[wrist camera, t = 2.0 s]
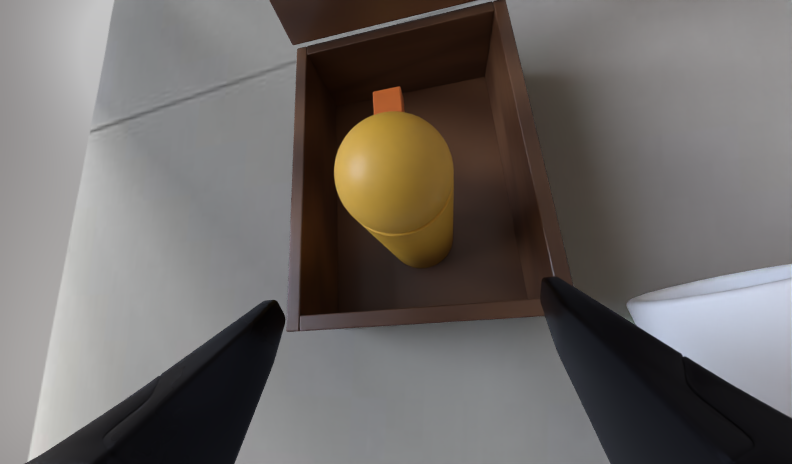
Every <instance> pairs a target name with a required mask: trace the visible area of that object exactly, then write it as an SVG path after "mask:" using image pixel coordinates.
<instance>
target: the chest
mask: <svg viewBox="0 0 792 464" xmlns="http://www.w3.org/2000/svg"><path fill="white" fill-rule="evenodd" d="M399 86H400V87H401V91H402V95H403V100H404V111H405V113H409V114H413V115H415V116H418V117H420V118H422V119H424V120H425V121H427V122H428V123H429V124H431V125H432V126H433V127H434V128H435V129H436V130H437V131H438V132H439V133H440V134H441V136H442V137H443V138H444V140H445V142H446V143H447V145H448V148H449V150H450V153H451V156H452V161H453V168H454V177H453V178H454V200H453V243H452V247H451V249H450V251H449V253H448V255H447V256H446V257H445V258H444V259H443V260H442V261H441V262H440V263H438V264H436V265H434V266H432V267H428V268H414V267H410V266H408V265H406V264H404V263H403V262H401V261H400V260H399V259H398V258H397V257H396V256H395V255H394V254H393V253H392V252H391V251H389V250H388V249H387V248H386V247H385V246H384V245H383V244H382V243H381V242H380V241H379V240H377V239H376V238H375V237H374V236H373V235H372V234H371V233H370V232H369V231H368V230H367V229H366V228H364V227H363V226H362V225H361V224H360V223H359V222H358V221H357V220H356V219H355V218H354V217H353V216H352V215H351V214H350V213H349V212H348V211H347V209H346V208H345V207H344V205H343V203H342V202H341V200H340V198H339V195H338V192H337V190H336V185H335V179H334V166H335V160H336V155H337V152H338V149H339V147H340V145H341V143H342V141H343V140H344V138H345V136H346V135H347V134H348V133H349V131H350V130H351V129H352V128H353V127H354V126H356V125H357V124H358V123H359V122H361V121H363V120H364V119H366V118H368V117H370V116H372V115H374V107H373V92H374V91H379V90H384V89H389V88H394V87H399ZM553 276H556V277H559V278H561V279H562V280H564V281H566V282H567V283H569V284H570V285H572V286H573V282H572V278H571V274H570V269H569V265H568V261H567V257H566V253H565V248H564V244H563V240H562V236H561V231H560V227H559V223H558V219H557V215H556V210H555V206H554V202H553V198H552V194H551V189H550V185H549V181H548V177H547V173H546V168H545V164H544V160H543V156H542V152H541V147H540V143H539V139H538V135H537V131H536V126H535V122H534V118H533V114H532V110H531V105H530V101H529V97H528V93H527V89H526V84H525V80H524V76H523V72H522V68H521V63H520V59H519V55H518V51H517V47H516V42H515V38H514V34H513V30H512V26H511V21H510V17H509V13H508V9H507V5H506V0H496V1H493V2H487V3H483V4H479V5H475V6H471V7H467V8H463V9H458V10H454V11H450V12H446V13H442V14H438V15H434V16H430V17H426V18H421V19H417V20H413V21H409V22H405V23H401V24H397V25H393V26H388V27H384V28H380V29H376V30H372V31H368V32H364V33H360V34H355V35H351V36H347V37H343V38H339V39H335V40H331V41H327V42H323V43H318V44H314V45H310V46H307V47H302V48H298V49H297V68H296V93H295V119H294V145H293V171H292V197H291V223H290V248H289V274H288V300H287V326H286V331H287V332H294V331H310V330H327V329H343V328H359V327H375V326H391V325H408V324H424V323H440V322H456V321H472V320H489V319H505V318H521V317H537V316H545V315H544V312H543V309H542V306H541V302H540V292H541V281H542V279H543V278H544V277H553Z"/></svg>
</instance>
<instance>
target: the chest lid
mask: <svg viewBox="0 0 792 464" xmlns="http://www.w3.org/2000/svg"><path fill="white" fill-rule="evenodd" d="M472 1H476V0H270V2H271V4H272V6H273V8H274V10H275V12H276V14H277V16H278V18H279V20H280V22H281V23H282V25H283V27H284V29H285V31H286V33H287V35H288V37H289V39H290V41H291V43H292V45H296V44H300V43H305V42H309V41H313V40H317V39H321V38H325V37H329V36H333V35H337V34H341V33H345V32H349V31H353V30H358V29H362V28H366V27H370V26H374V25H378V24H382V23H386V22H390V21H394V20H398V19H402V18H406V17H410V16H415V15H419V14H423V13H427V12H431V11H435V10H439V9H443V8H447V7H451V6H455V5H459V4H463V3H467V2H472Z"/></svg>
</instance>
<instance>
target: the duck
mask: <svg viewBox="0 0 792 464" xmlns="http://www.w3.org/2000/svg"><path fill="white" fill-rule="evenodd" d="M373 107H374V115H372V116H370V117H368V118H366V119H364V120H363V121H361V122H359V123H358V124H357V125H356V126H354V127H353V128H352V129H351V130H350V131H349V133H348V134H347V135H346V136H345V138H344V140H343V141H342V143H341V145H340V147H339V149H338V152H337V155H336V160H335V166H334V179H335V185H336V190H337V192H338V195H339V198H340V200H341V202H342V203H343V205H344V207H345V208H346V209H347V211H348V212H349V213H350V214H351V215H352V216H353V217H354V218H355V219H356V220H357V221H358V222H359V223H360V224H361V225H362V226H363V227H364V228H366V229H367V230H368V231H369V232H370V233H371V234H372V235H373V236H374V237H375V238H376V239H377V240H379V241H380V242H381V243H382V244H383V245H384V246H385V247H386V248H387V249H388V250H389V251H391V252H392V253H393V254H394V255H395V256H396V257H397V258H398V259H399V260H400V261H401V262H403V263H404V264H406V265H408V266H410V267H414V268H428V267H432V266H434V265H436V264H438V263H440V262H441V261H442V260H443V259H444V258H445V257H446V256H447V255H448V253H449V251H450V249H451V247H452V243H453V200H454V178H453V177H454V168H453V161H452V156H451V153H450V150H449V148H448V145H447V143H446V142H445V140H444V138H443V137H442V136H441V134H440V133H439V132H438V131H437V130H436V129H435V128H434V127H433V126H432V125H431V124H429V123H428V122H427V121H425V120H424V119H422V118H420V117H418V116H415V115H413V114H409V113H405V111H404V100H403V95H402V91H401V87H400V86H399V87H394V88H389V89H384V90H379V91H374V92H373Z"/></svg>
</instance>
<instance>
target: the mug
mask: <svg viewBox="0 0 792 464" xmlns="http://www.w3.org/2000/svg"><path fill="white" fill-rule="evenodd" d="M627 308H628V310H629V312H630V314H631V316H632V318H633V320H634V322H635V324H636V326H638V327H639V328H641V329H643V330H644V331H646V332H647V333H649V334H651V335H652V336H654V337H655V338H657V339H659V340H660V341H662V342H664V343H665V344H667V345H668V346H670V347H672V348H673V349H675V350H676V351H678V352H680V353H681V354H682V355H683V357H684V356H686V357H688V358H689V359H691V360H693V361H694V362H696V363H697V364H699V365H701V366H702V367H704V368H706V369H707V370H709V371H711V372H712V373H714V374H715V375H717V376H719V377H720V378H722V379H724V380H725V381H727V382H729V383H730V384H732V385H734V386H735V387H737V388H739V389H741V390H743V391H744V392H746V393H748V394H750V395H751V396H753V397H755V398H757V399H758V400H760V401H762V402H764V403H766V404H767V405H769V406H771V407H773V408H774V409H776V410H778V411H780V412H782V413H784V414H785V415H787V416H789V417H791V418H792V264H786V265H780V266H773V267H767V268H761V269H756V270H750V271H744V272H739V273H733V274H728V275H723V276H718V277H713V278H708V279H703V280H699V281H694V282H689V283H685V284H680V285H676V286H672V287H668V288H664V289H660V290H656V291H653V292H649V293H646V294H643V295H640V296H637V297H634V298H632V299H630V300H629V301H628V302H627Z"/></svg>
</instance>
